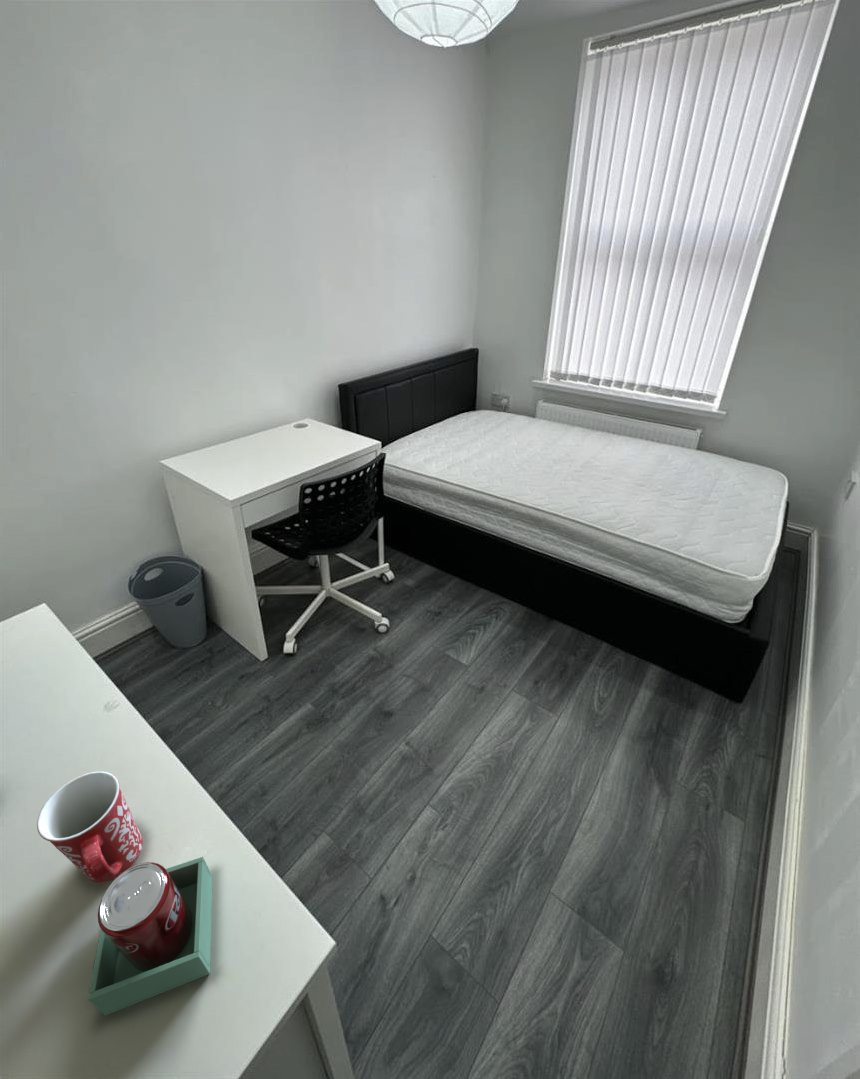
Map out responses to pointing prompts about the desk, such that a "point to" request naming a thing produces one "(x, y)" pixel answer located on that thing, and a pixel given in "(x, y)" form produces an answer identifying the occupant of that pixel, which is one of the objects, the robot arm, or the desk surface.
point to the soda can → (145, 916)
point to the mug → (92, 826)
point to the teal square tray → (128, 985)
